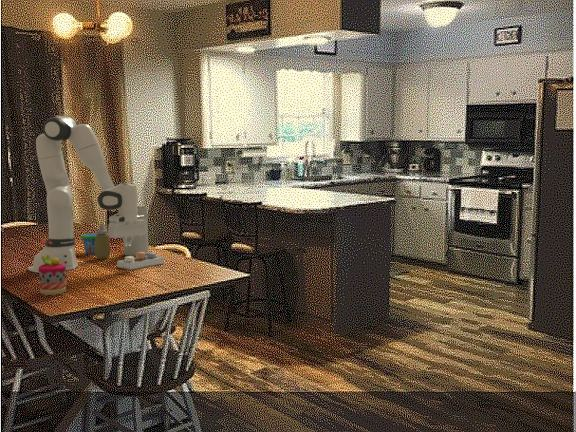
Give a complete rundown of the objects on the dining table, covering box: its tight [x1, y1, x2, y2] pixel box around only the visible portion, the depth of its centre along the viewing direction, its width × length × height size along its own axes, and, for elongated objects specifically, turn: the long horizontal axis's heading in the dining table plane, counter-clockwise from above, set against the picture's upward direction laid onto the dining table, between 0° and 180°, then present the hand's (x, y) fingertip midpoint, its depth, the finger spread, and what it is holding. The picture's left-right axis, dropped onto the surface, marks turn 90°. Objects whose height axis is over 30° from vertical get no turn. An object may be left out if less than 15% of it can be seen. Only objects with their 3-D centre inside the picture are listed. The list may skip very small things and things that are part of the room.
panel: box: [116, 255, 165, 271], centre depth 308 cm, size 20×10×3 cm, turn 140°
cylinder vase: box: [123, 205, 149, 257], centre depth 335 cm, size 12×12×25 cm
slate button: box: [146, 252, 157, 259], centre depth 313 cm, size 4×4×3 cm
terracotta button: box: [135, 252, 146, 260], centre depth 308 cm, size 4×4×3 cm
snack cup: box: [80, 232, 97, 255], centre depth 337 cm, size 16×10×10 cm
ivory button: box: [124, 255, 135, 263], centre depth 303 cm, size 4×4×3 cm
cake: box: [38, 255, 68, 296], centre depth 254 cm, size 10×11×15 cm
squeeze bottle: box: [94, 223, 111, 260], centre depth 324 cm, size 8×8×18 cm
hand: (127, 245), depth 302 cm, fingers closed
